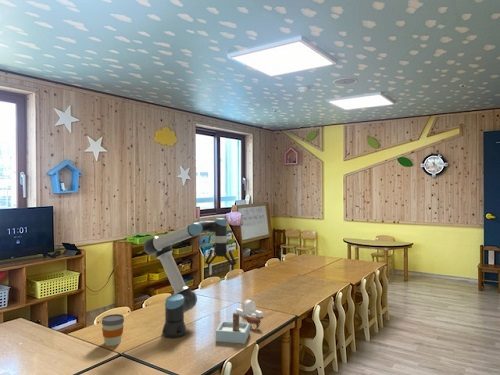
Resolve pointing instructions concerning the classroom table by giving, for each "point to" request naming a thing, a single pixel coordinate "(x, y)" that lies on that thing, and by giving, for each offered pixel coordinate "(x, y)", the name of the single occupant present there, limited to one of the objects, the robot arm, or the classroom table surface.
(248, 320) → the bull figurine
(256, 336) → the classroom table surface
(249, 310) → the white rounded shape
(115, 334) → the reusable coffee cup
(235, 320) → the walnut peg
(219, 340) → the blue box
